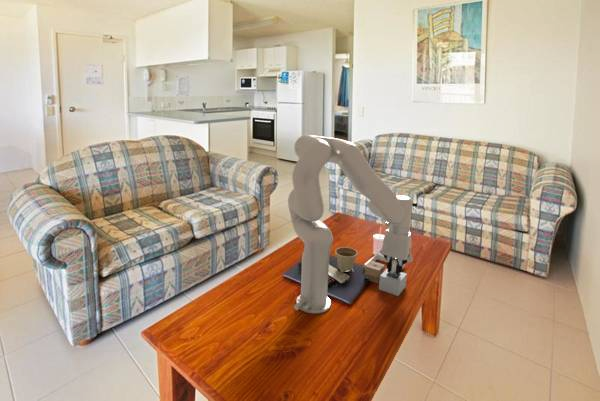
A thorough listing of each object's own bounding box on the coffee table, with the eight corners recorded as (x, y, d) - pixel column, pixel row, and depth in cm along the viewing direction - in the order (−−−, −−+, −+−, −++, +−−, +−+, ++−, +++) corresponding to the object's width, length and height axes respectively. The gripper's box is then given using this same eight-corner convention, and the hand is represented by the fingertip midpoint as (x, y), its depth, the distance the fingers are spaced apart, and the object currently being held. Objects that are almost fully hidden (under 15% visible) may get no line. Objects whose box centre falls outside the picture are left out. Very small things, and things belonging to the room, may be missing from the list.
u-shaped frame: (393, 278, 152) (394, 273, 151) (363, 269, 159) (364, 264, 158) (404, 266, 162) (405, 261, 161) (376, 258, 169) (376, 253, 169)
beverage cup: (375, 249, 178) (378, 223, 174) (386, 253, 174) (389, 226, 170) (369, 253, 174) (371, 226, 169) (380, 257, 170) (383, 230, 166)
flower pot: (357, 275, 153) (358, 257, 151) (334, 274, 153) (336, 256, 151) (354, 265, 162) (356, 247, 160) (333, 264, 162) (334, 246, 160)
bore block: (398, 296, 139) (399, 282, 137) (378, 289, 143) (379, 275, 142) (405, 287, 145) (407, 273, 144) (386, 280, 150) (387, 267, 148)
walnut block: (377, 283, 148) (379, 270, 146) (364, 279, 151) (365, 266, 149) (383, 277, 152) (384, 264, 151) (370, 273, 156) (371, 260, 154)
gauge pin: (395, 283, 142) (398, 260, 139) (388, 281, 143) (390, 258, 140) (398, 280, 144) (400, 257, 141) (390, 278, 146) (393, 255, 143)
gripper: (374, 226, 138) (370, 269, 144) (417, 236, 129) (411, 282, 135) (382, 220, 144) (378, 262, 150) (423, 230, 135) (417, 274, 141)
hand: (394, 271), depth 142 cm, fingers closed on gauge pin, 3 cm apart
